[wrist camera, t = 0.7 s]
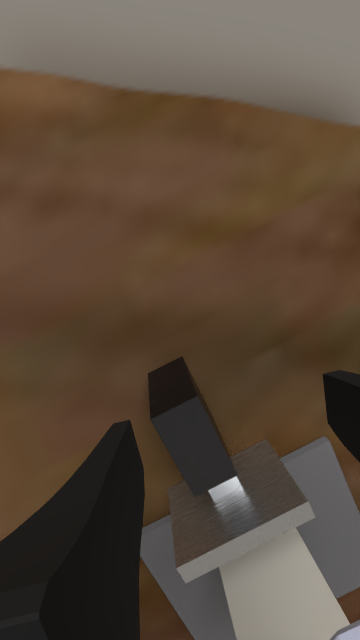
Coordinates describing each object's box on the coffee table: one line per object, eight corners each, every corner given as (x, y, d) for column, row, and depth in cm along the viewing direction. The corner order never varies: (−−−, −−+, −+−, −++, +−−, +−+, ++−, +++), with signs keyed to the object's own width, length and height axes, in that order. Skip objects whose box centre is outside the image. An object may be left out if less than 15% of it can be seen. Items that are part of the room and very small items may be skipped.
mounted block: (174, 500, 23) (185, 583, 17) (110, 392, 21) (98, 445, 15) (272, 451, 23) (315, 517, 18) (219, 338, 21) (248, 370, 15)
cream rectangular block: (223, 563, 24) (262, 710, 16) (213, 546, 24) (248, 689, 16) (293, 527, 24) (366, 656, 16) (285, 509, 24) (355, 634, 16)
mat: (208, 654, 27) (210, 663, 26) (130, 534, 23) (130, 541, 23) (378, 567, 27) (384, 574, 26) (324, 435, 24) (329, 440, 23)
